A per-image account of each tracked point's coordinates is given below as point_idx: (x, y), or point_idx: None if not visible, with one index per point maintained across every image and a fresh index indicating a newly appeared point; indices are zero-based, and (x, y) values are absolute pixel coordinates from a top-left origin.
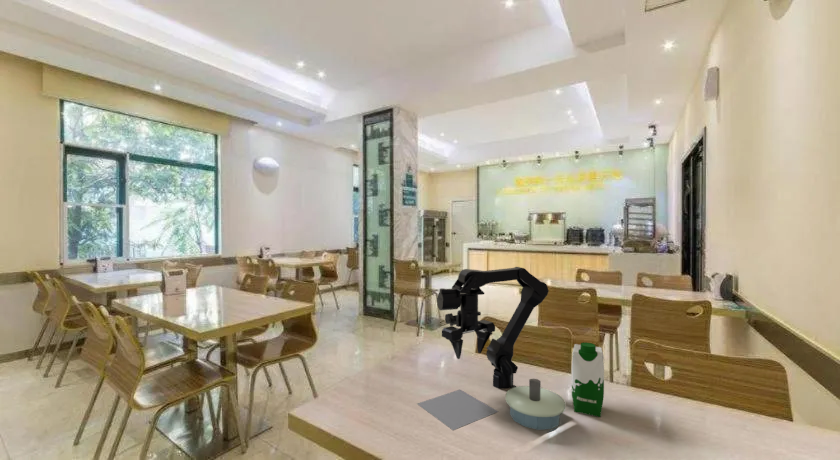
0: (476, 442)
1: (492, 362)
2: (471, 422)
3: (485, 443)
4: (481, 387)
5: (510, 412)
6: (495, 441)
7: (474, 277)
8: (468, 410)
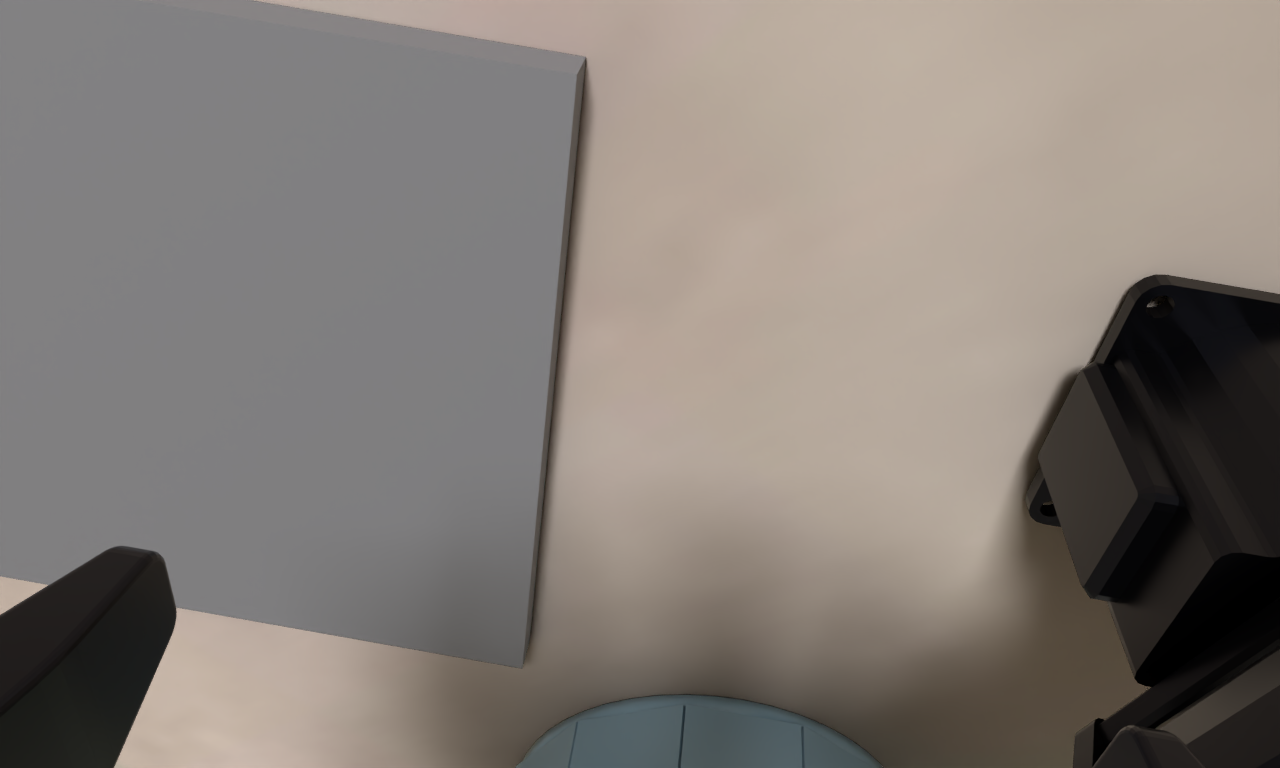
0: None
1: (1178, 733)
2: None
3: (145, 718)
4: (1010, 195)
5: (561, 760)
6: (226, 745)
7: None
8: (266, 490)
